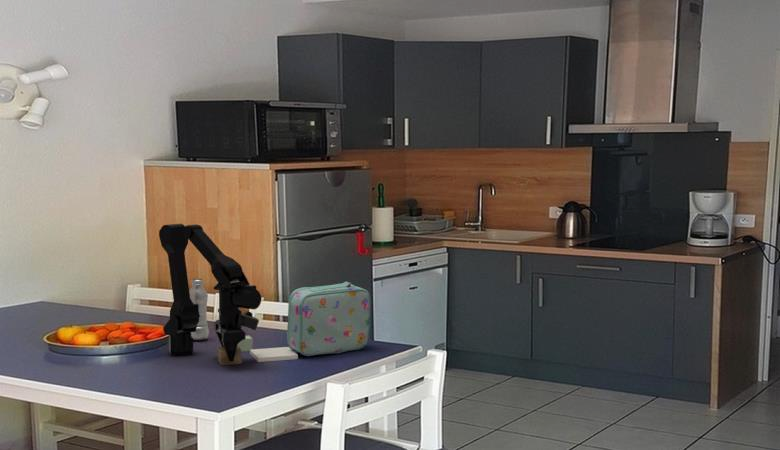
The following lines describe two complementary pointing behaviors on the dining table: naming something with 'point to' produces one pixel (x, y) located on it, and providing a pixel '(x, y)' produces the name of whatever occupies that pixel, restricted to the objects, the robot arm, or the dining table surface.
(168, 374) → the dining table surface
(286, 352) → the base board
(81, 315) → the dining table surface
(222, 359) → the walnut block
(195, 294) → the plastic bottle
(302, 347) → the lunch box
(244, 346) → the sage block
